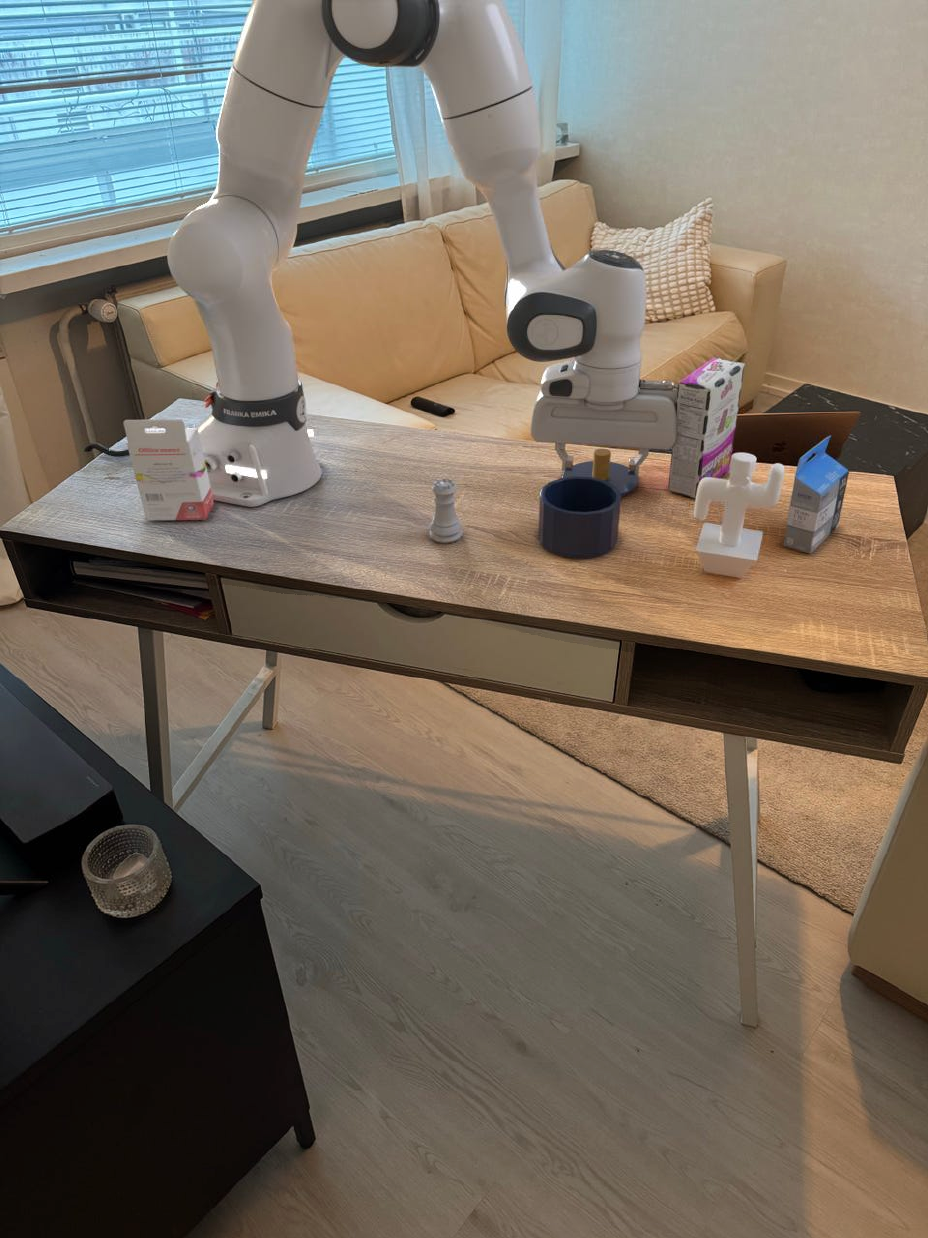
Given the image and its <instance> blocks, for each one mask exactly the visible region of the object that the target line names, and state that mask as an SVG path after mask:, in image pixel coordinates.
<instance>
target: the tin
mask: <svg viewBox="0 0 928 1238" xmlns="http://www.w3.org/2000/svg"><path fill="white" fill-rule="evenodd" d="M621 502H622V496H621V493H620V492H619V490H618V489H617V488H616V487H615V486H614V485H612V484H610V483H608V482H606V481H604V480H600V479H596V478H592V477H579V476H574V477H566V478H562V477H560V478H558V479H555V480H552V481H549V482H547V484H545V485H544V486H543V487H541V489H540V493H539V503H538V505H539V508H538V509H539V510H538V538H539V539H538V540H539V543H540V545H541V546H542V547H543V549H545V550H546V551H548V552H549V553H551V554H553V555H555V556H559V557H562V558H566V559H573V560H574V559H575V560H586V559H587V560H588V559H595V558H599V557H601V556H604V555H607V554H609V553H610V552H611V551H613V550H614V549H615V548H616V546H617V543H618V536H619V527H620V526H619V525H620V515H621Z"/></svg>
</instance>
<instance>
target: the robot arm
mask: <svg viewBox="0 0 928 1238" xmlns="http://www.w3.org/2000/svg"><path fill="white" fill-rule="evenodd" d="M345 58H348V59H349V60H350V61H352V62H354V63H357V64H359V65H362V66H367V67H373V68H391V67H392V68H393V67H395V68H396V67H399V68H417V67H419V68H420V69H421V70H422V71H423V73H424V75H426V78H427V80H428V82H429V84H430V87H431V89H432V93H433V97H434V100H435V103H436V106H437V111H438V114H439V118H440V120H441V125H442V128H443V131H444V134H445V137H446V139H447V142H448V145H449V147H450V149H451V152H452V154H453V156H454V159H455V161H456V163H457V165H458V167H459V169H460V171H461V173H462V175H463V177H464V178H465V179H466V180H467V181H468V182H469V183H470V184H472V185H473V186H474V187H476V188H477V190H479V192H480V193H481V194H482V196H483V197H484V198H485V200H486V202H487V204H488V206H489V208H490V210H491V214H492V217H493V220H494V224H495V227H496V230H497V234H498V238H499V242H500V244H501V248H502V251H503V255H504V258H505V263H506V280H505V284H504V286H505V287H504V293H503V302H504V308H505V311H506V312H505V317H506V318H505V319H506V332H507V337H508V340H509V342H510V343H509V344H511V346H512V348H513V349H514V350H515V351H516V353H518V354H519V355H520V356H521V357H523V358H525V359H527V360H529V361H532V362H537V363H547V362H555V361H561V360H567V359H570V360H567V361H562V362H559V363H554V364H551V365H549V366H547V367H546V368H545V370H544V372H543V374H542V376H541V380H540V390H539V391H538V394H537V396H536V399H535V403H534V406H533V410H532V415H531V422H530V434H529V435H530V436H531V438H532V439H533V441H535V442H536V443H547V444H548V443H551V444H554V450H555V452H556V454H557V455H558V457H559V459H560V461H561V471H562V472H564V471H572V469H573V465H574V455H569V454H568V452H567V450H566V445H584V446H598V447H599V446H600V447H616V448H617V447H618V448H631V449H632V448H633V449H638V454H637V456H636V457H635V459H631V458H629V461H628V467H629V471H628V475H638V476H639V475H640V466H641V465H642V464H643V463H644V461H646V459H647V457H648V456H649V452H650V450H651V449H652V450H667V451H668V450H670V449H672V447H673V446H674V445H675V443H676V431H677V422H676V403H677V393H678V385H677V384H674V383H675V382H673V381H671V380H663V381H659V380H651V379H641V372H642V360H643V353H642V352H643V351H642V348H641V347H642V346H641V338H642V335H643V332H644V331H645V326H646V316H647V300H648V299H647V298H648V297H647V295H648V292H647V290H648V289H647V288H648V287H647V285H648V284H647V277H646V276H647V275H646V272H645V269H644V268H643V266H642V265H641V263H640V262H639V261H638V260H637V259H636V258H634V257H633V256H631V255H629V254H626V253H625V252H624V253H623V252H620V251H616V250H611V249H610V250H609V249H598V250H597V249H596V250H591V251H589V252H587V253H586V254H585V256H584V257H582V258H581V259H580V260H578V261H577V262H575V263H574V264H572V265H571V266H569V267H568V268H566V267H565V266H564V265H563V263H562V262H561V260H559V259H558V258H557V255H556V254H555V253H554V250H553V248H552V247H553V246H552V245H551V241H550V237H549V234H548V230H547V225H546V222H545V218H544V214H543V210H542V205H541V201H540V197H539V192H538V191H539V190H538V169H539V168H538V167H539V162H540V160H541V159H540V158H541V153H542V144H541V128H540V127H541V126H540V118H539V112H538V105H537V99H536V94H535V89H534V86H533V83H532V77H531V74H530V70H529V67H528V63H527V59H526V55H525V53H524V50H523V47H522V44H521V42H520V39H519V36H518V32H517V30H516V28H515V25H514V22H513V20H512V18H511V16H510V13H509V11H508V8H507V7H506V4H505V3H504V1H503V0H252V2H251V5H250V7H249V10H248V13H247V15H246V17H245V20H244V23H243V26H242V28H241V31H240V34H239V37H238V41H237V44H236V48H235V52H234V55H233V58H232V64H231V67H230V72H229V74H228V75H229V76H228V79H227V83H226V87H225V92H224V97H223V100H222V105H221V109H220V113H219V118H218V122H217V126H216V130H215V137H216V141H217V144H218V152H219V153H218V154H219V157H218V176H217V183H216V187H215V190H214V192H213V194H212V196H211V198H210V199H209V201H208V202H207V203H205V204H203V205H201V206H199V207H197V208H196V209H194V210H192V211H190V212H189V213H188V214H187V215H186V216H184V218H183V219H182V220H181V222H180V223H179V224H178V226H177V227H176V229H175V231H174V232H173V234H172V236H171V237H170V240H169V242H168V245H167V251H166V252H167V253H166V254H167V255H166V257H167V265H168V268H169V272H170V274H171V276H172V277H173V280H174V281H175V283H176V284H177V285H178V287H179V288H180V289H181V290H182V291H183V292H184V293H185V294H186V295H188V296H189V297H190V298H191V299H192V301H193V303H194V304H195V307H196V309H197V311H198V313H199V316H200V318H201V321H202V323H203V325H204V327H205V330H206V333H207V336H208V341H209V343H210V348H211V354H212V358H213V363H214V368H215V372H216V373H215V374H216V380H217V382H216V383H215V388H213V389H212V390H210V392H209V393H208V396H206V398H204V400H203V403H205V405H204V408H205V409H208V408H209V407H210V406H211V413H209V414H208V415H207V416H206V417H205V418H204V419H203V420H201V421H200V422H199V423H198V424H197V425H195V424H191V425H189V426H187V428H198V432H199V437H200V441H201V445H202V450H203V454H204V459H205V464H206V468H207V473H208V478H209V482H210V487H211V492H212V496H213V501H214V502H220V503H226V504H231V505H236V506H243V507H248V508H255V507H259V506H262V505H264V504H266V503H269V502H271V501H274V500H277V499H282V498H287V497H290V496H293V495H294V496H295V495H297V494H300V493H302V492H304V491H305V492H306V491H307V490H309V489H310V488H312V487H313V486H314V485H316V484H317V483H318V482H319V481H320V479H321V478H322V475H323V471H322V467H321V465H320V463H319V460H318V459H317V457H316V454H315V451H314V449H313V445H312V442H311V438H310V437H314V429H308V427H307V419H308V418H307V403H306V398H305V394H304V387H303V383H302V381H301V380H300V378H299V373H298V372H299V371H298V365H297V356H296V350H295V342H294V335H293V330H292V326H291V324H290V323H289V322H288V321H287V320H286V319H285V318H284V316H283V314H282V312H281V309H280V306H279V304H278V301H277V298H276V295H275V293H274V292H275V291H274V287H273V273H274V272H275V271H276V270H277V269H278V268H279V267H280V266H282V265H283V264H284V263H285V262H286V261H287V259H288V258H289V255H290V254H291V252H292V249H293V247H294V245H295V242H296V238H297V235H298V220H299V214H300V208H301V204H302V203H301V202H302V195H303V187H304V182H305V176H306V172H307V168H308V163H309V160H310V156H311V153H312V150H313V146H314V143H315V140H316V137H317V133H318V129H319V126H320V123H321V120H322V116H323V112H324V109H325V107H326V103H327V100H328V96H329V93H330V89H331V86H332V82H333V79H334V76H335V74H336V72H337V69H338V67H339V66H340V64H341V62H342V61H343V60H344V59H345ZM572 358H574V359H572ZM94 449H95V450H97V451H99V452H101V453H102V454H105V455H106V456H110V457H114V458H122V457H123V458H124V457H128V456H130V454H129V450H128V448H127V449H124V450H114V449H110V448H109V447H108V448H107V447H106V446H104V445H102V444H100V443H98V442H90V443H88V444H86V446H85V447H84V449H83V451H84V452H85V453H89V452H91V451H92V450H94ZM109 450H110V451H109Z"/></svg>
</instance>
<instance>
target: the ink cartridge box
mask: <svg viewBox="0 0 928 1238" xmlns="http://www.w3.org/2000/svg"><path fill="white" fill-rule="evenodd" d="M123 427H124V431H125V437H126V440H127V442H126V447H127V449H128V450H129V454H130V455H129V457H130V462H131V465H132V468H133V472H134V477H135V480H136V484H137V488H138V493H139V495H140V499H141V503H142V507H143V512H144V515H145V518H146V520H147V521H202V520H203V521H204V520H207V518H208V517H209V514H210V513H211V511H212V509H213V507H214V505H215V500H213V496H212V492H211V487H210V482H209V478H208V473H207V468H206V464H205V459H204V454H203V450H202V445H201V441H200V437H199V432H198V428H188V427H186V426H185V422H184V420H183V419H181V418H179V419H161V418H160V419H125V420H124V421H123ZM153 427H156V428H153Z"/></svg>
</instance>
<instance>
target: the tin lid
mask: <svg viewBox="0 0 928 1238" xmlns="http://www.w3.org/2000/svg"><path fill="white" fill-rule="evenodd" d="M611 456H612V451H611V450H609V449H607V448H596V449H595V450H594V451H593V459H592V460H589V461H582V462H578V463H575V464H573V469H572V471H563V473H562V475H561V476H562V477H561V478H566V477H574V476H579V477H592V478H596V479H600V480H604V481H606V482H608V483H610V484H612V485H614V486H615V487H616V488H617V489H618V490H619V492H620V493H621V497H624V496H627V495H629V494H631V493H633V492H635V490H636V489H637V488H638V487H639V483H640V476H639V474H638V475H628V471H629V466H627V465H625V464H622V463H619V462H614V461H611Z"/></svg>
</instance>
